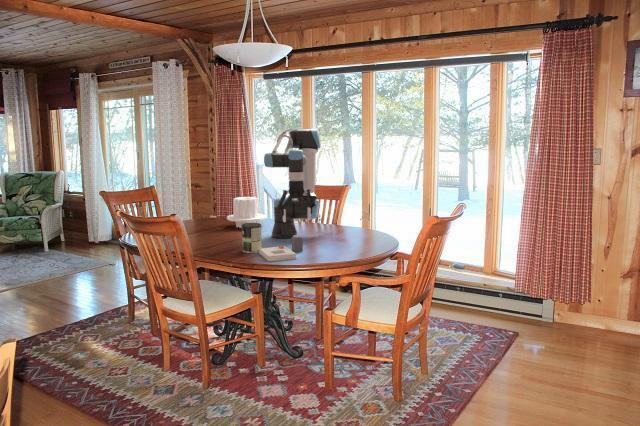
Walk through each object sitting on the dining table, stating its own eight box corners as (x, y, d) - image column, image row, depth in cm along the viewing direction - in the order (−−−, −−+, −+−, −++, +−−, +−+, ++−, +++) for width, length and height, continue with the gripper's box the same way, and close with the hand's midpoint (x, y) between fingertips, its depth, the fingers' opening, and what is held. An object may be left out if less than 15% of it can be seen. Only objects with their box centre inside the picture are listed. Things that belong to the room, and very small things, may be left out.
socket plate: (259, 253, 269) (259, 247, 268) (285, 250, 274) (285, 244, 273) (268, 261, 252) (268, 254, 251) (296, 258, 257) (295, 252, 256)
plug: (291, 250, 275) (291, 235, 274) (299, 249, 277) (299, 234, 275) (294, 252, 271) (294, 237, 270) (302, 251, 272) (302, 236, 271)
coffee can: (241, 253, 269) (240, 226, 267) (242, 248, 279) (242, 223, 277) (261, 252, 270) (261, 226, 267) (262, 248, 280) (261, 222, 278)
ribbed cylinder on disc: (219, 228, 339) (218, 199, 336) (244, 222, 360) (243, 194, 357) (249, 231, 326) (248, 201, 323) (273, 225, 347) (272, 197, 344)
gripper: (274, 181, 260) (275, 223, 263) (321, 179, 269) (321, 220, 272) (270, 180, 267) (271, 221, 270) (316, 178, 276) (316, 218, 279)
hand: (296, 221), depth 271 cm, fingers open, 13 cm apart
